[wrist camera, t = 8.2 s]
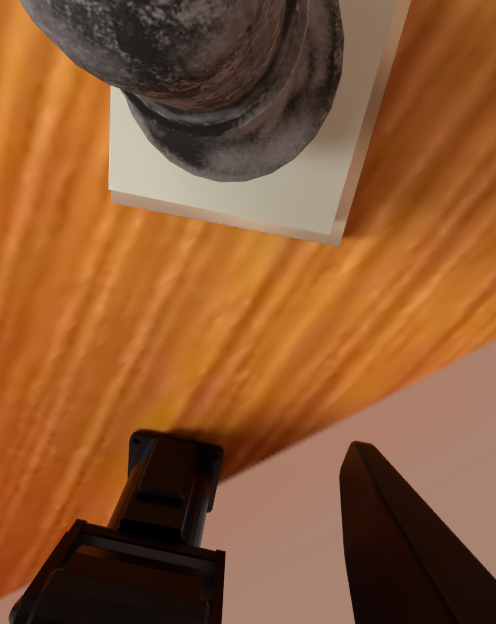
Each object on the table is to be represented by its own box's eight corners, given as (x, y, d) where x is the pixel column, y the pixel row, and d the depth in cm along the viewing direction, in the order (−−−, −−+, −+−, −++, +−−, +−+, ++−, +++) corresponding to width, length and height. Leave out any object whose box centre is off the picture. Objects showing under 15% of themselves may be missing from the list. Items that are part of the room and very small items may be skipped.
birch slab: (331, 235, 19) (339, 246, 17) (130, 196, 19) (111, 202, 17) (405, -28, 15) (428, -60, 12) (139, -83, 14) (115, -125, 12)
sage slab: (321, 222, 17) (329, 234, 14) (131, 183, 16) (108, 189, 14) (391, -26, 13) (416, -63, 11) (143, -82, 13) (115, -131, 10)
